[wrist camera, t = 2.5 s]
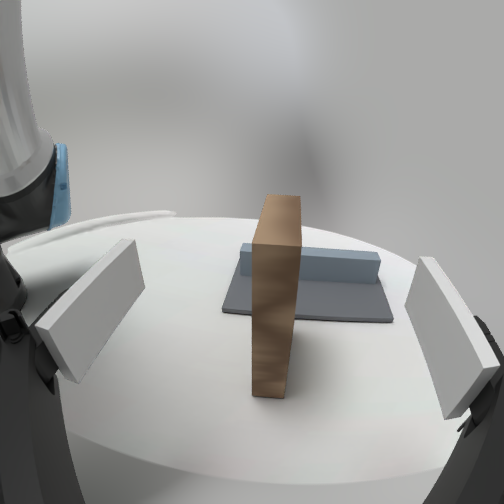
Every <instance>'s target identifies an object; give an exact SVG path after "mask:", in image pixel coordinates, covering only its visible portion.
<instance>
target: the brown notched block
mask: <svg viewBox="0 0 504 504" xmlns="http://www.w3.org/2000/svg"><path fill="white" fill-rule="evenodd" d="M301 249H302V235H301V202H300V196H288V195H269V194H268V195H267V197H266V200H265V203H264V207H263V209H262V213H261V216H260V219H259V222H258V225H257V228H256V231H255V235H254V238H253V241H252V395H253V396H262V397H273V398H284V392H285V386H286V379H287V372H288V365H289V357H290V350H291V342H292V334H293V326H294V318H295V309H296V300H297V291H298V281H299V271H300V261H301Z"/></svg>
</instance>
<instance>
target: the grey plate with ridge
mask: <svg viewBox="0 0 504 504" xmlns="http://www.w3.org/2000/svg"><path fill="white" fill-rule="evenodd" d="M380 263H381V259H380V257H379V255H378V253H377V252H368V251H354V250H340V249H326V248H311V247H302V249H301V261H300V271H299V281H298V291H297V300H296V309H295V318H303V319H320V320H341V321H370V322H393V319H394V318H393V315H392V312H391V309H390V306H389V304H388V301H387V298H386V295H385V293H384V290H383V287H382V285H381V282H380V280H379V277H378V271H379V267H380ZM222 312H231V313H241V314H251V315H252V244H250V243H243V244H242V247H241V249H240V259H239V261H238V264H237V267H236V270H235V273H234V275H233V278H232V281H231V284H230V286H229V289H228V292H227V295H226V298H225V300H224V303H223V306H222Z"/></svg>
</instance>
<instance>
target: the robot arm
mask: <svg viewBox="0 0 504 504" xmlns="http://www.w3.org/2000/svg"><path fill="white" fill-rule="evenodd" d="M21 23H22V22H21V0H0V244H2V243H4V242H7V241H10V240H14V239H17V238H21V237H24V236H28V235H32V234H35V233H39V232H42V231H46V230H47V231H49V230H51V229H52V228H54V227H57V226H60V225H63V224H65V223H66V222H68V220H69V218H70V216H71V205H70V204H71V203H70V188H69V172H68V154H67V147H66V145H65V144H59V143H57V144H55V145H54V143H53V140H52V137H51V135H50V134H49V133H48V132H47V131H46V130H44V129H42V128H39V127H37V123H36V119H35V114H34V110H33V105H32V101H31V95H30V90H29V84H28V78H27V72H26V65H25V58H24V48H23V38H22V24H21ZM144 289H145V285H144V280H143V276H142V272H141V267H140V262H139V257H138V253H137V247H136V242H135V240H133V239H121V240H120V241H119V242H118V243H117V244H116V245H115V246H114V247H112V248H111V249H110V250H109V251H108V252H107V253H106V254H105V255H104V256H103V257H101V258H100V259H99V260H98V261H97V262H96V263H95V264H94V265H93V266H92V267H91V268H90V269H89V270H88V271H87V272H86V273H85V274H84V275H83V276H81V277H80V278H79V279H78V280H77V281H76V282H75V283H74V284H73V285H72V286H71V287H70V288H69V289H67V290H65V291H64V292H62V293H61V294H60V295H59V296H58V297H57V298H56V299H55V300H54V302H52V303H51V304H50V305H49V306H48V308H46V309H45V310H44V311H43V312H42V313H41V314H40V315H39V317H38V318H37V319H36V320H35V321H34V322H33V323H32V324H31V325H30V326H29V327H28V326H27V324H26V322H25V320H24V318H23V316H22V314H21V312H20V311H19V310H20V309H21V308H22V306H23V304H24V303H25V300H26V297H27V289H26V287H25V284H24V282H23V280H22V278H21V276H20V275H19V274H18V272H17V271H16V270H15V269H14V267H13V266H12V265H11V263H10V262H9V261H8V259H7V258H6V257H5V255H4V254H3V251H2V248H1V245H0V336H1V337H0V504H85V502H84V499H83V496H82V493H81V490H80V486H79V483H78V480H77V476H76V473H75V470H74V466H73V462H72V458H71V454H70V449H69V445H68V440H67V436H66V430H65V425H64V419H63V413H62V407H61V400H60V392H59V384H58V378H57V376H56V374H55V373H56V371H57V370H58V368H59V370H60V371H61V373H62V374H63V376H64V378H65V379H68V380H70V381H73V382H75V383H78V384H79V383H80V381H81V380H82V378H83V377H84V375H85V373H86V372H87V370H88V369H89V367H90V366H91V364H92V363H93V361H94V360H95V358H96V357H97V355H98V354H99V352H100V351H101V349H102V348H103V346H104V345H105V343H106V342H107V340H108V339H109V338H110V336H111V335H112V333H113V332H114V330H115V329H116V327H117V326H118V325H119V323H120V322H121V320H122V319H123V318H124V316H125V315H126V313H127V312H128V311H129V309H130V308H131V306H132V305H133V304H134V302H135V301H136V299H137V298H138V297H139V295H140V294H141V293H142V291H143V290H144ZM405 308H406V311H407V313H408V315H409V318H410V320H411V323H412V325H413V328H414V330H415V333H416V335H417V338H418V341H419V343H420V346H421V349H422V351H423V354H424V357H425V360H426V363H427V366H428V368H429V371H430V374H431V377H432V380H433V384H434V387H435V390H436V393H437V396H438V400H439V403H440V407H441V410H442V414H443V417H444V420H447V419H452V418H457V417H461V416H462V415H463V413H464V412H465V411H466V410H467V409H468V408H470V411H471V415H470V416H469V417H468V418H467V420H466V421H465V422H464V423H463V424H462V425H461V426H460V427H459V428H458V430H457V432H459V431H460V430H461V429H462V428H463V430H462V433H461V435H460V437H459V439H458V441H457V444H456V446H455V448H454V450H453V452H452V454H451V456H450V458H449V460H448V462H447V464H446V465H445V467H444V469H443V471H442V473H441V475H440V476H439V478H438V480H437V482H436V483H435V485H434V487H433V488H432V490H431V491H430V493H429V495H428V496H427V498H426V499H425V501H424V503H423V504H504V356H503V354H502V352H501V350H500V348H499V347H498V345H497V343H496V342H495V340H494V338H493V336H492V335H491V334H490V331H489V329H488V328H487V326H486V324H485V323H484V322H483V321H482V320H481V319H480V318H479V317H477V316H473V315H472V314H471V312H470V311H469V309H468V307H467V306H466V304H465V303H464V301H463V300H462V298H461V296H460V295H459V293H458V292H457V290H456V289H455V287H454V286H453V284H452V283H451V281H450V280H449V279H448V277H447V276H446V274H445V273H444V271H443V270H442V269H441V267H440V266H439V264H438V263H437V262H436V260H435V259H434V258H433V257H419V260H418V264H417V267H416V271H415V274H414V278H413V281H412V284H411V287H410V291H409V294H408V297H407V300H406V303H405Z"/></svg>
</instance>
